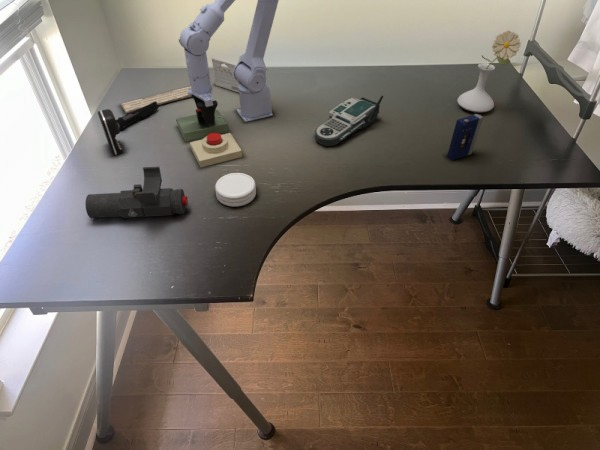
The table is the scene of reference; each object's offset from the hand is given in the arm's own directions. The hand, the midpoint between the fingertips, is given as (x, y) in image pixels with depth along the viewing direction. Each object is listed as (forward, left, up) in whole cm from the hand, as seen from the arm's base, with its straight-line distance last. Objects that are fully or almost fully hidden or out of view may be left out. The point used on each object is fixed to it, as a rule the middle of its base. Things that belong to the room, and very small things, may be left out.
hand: (206, 117), depth 133 cm
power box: (+2, +14, -4) cm, 14 cm away
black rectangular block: (0, 0, -1) cm, 1 cm away
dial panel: (+2, 0, -4) cm, 4 cm away
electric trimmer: (+19, -14, -4) cm, 24 cm away
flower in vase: (-83, +25, -4) cm, 87 cm away
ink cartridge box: (-14, -22, -4) cm, 27 cm away
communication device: (-37, +18, -4) cm, 42 cm away
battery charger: (+27, 0, -4) cm, 27 cm away
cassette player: (-60, +44, -4) cm, 75 cm away
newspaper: (+10, -23, -4) cm, 26 cm away
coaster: (+3, +34, -4) cm, 34 cm away
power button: (+2, +14, 0) cm, 14 cm away
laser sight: (+26, +31, -4) cm, 40 cm away
